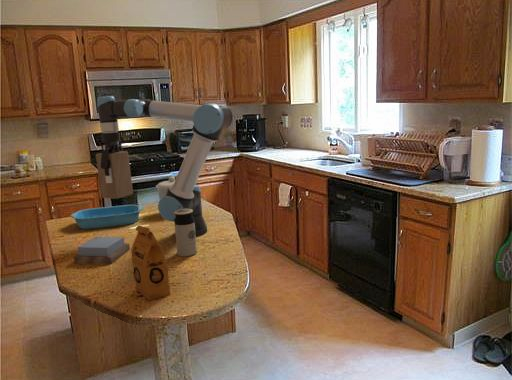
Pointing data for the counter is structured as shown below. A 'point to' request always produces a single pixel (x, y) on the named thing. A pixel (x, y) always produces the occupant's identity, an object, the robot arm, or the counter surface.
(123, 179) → the wooden block
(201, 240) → the counter surface
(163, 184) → the canister
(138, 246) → the coffee package
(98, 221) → the casserole dish
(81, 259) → the walnut slab
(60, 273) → the counter surface
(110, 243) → the slate slab
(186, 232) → the travel mug
